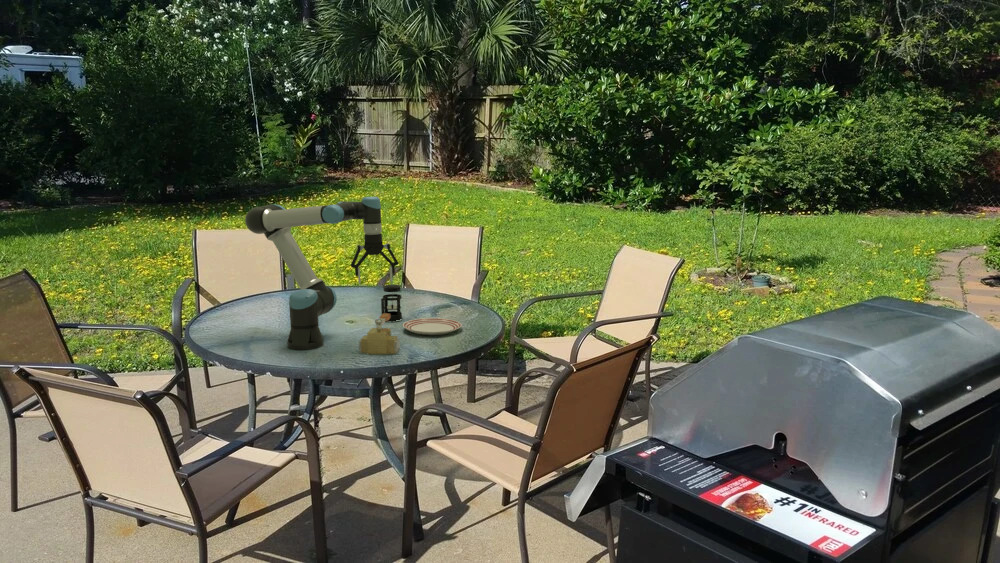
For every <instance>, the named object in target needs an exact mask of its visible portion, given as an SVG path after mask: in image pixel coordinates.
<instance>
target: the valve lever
mask: <svg viewBox="0 0 1000 563" xmlns="http://www.w3.org/2000/svg"><path fill="white" fill-rule="evenodd" d="M389 319H390V314H388V313H385V312H384V313H383V314H382V313H381V315H380V316H379V318H378V319H375V320H374V322H375V326H376V328H377V331H381V330H382V329H381V328H382V326H383V325H384V324H385V323H386V322H385V321H388V320H389Z"/></svg>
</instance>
